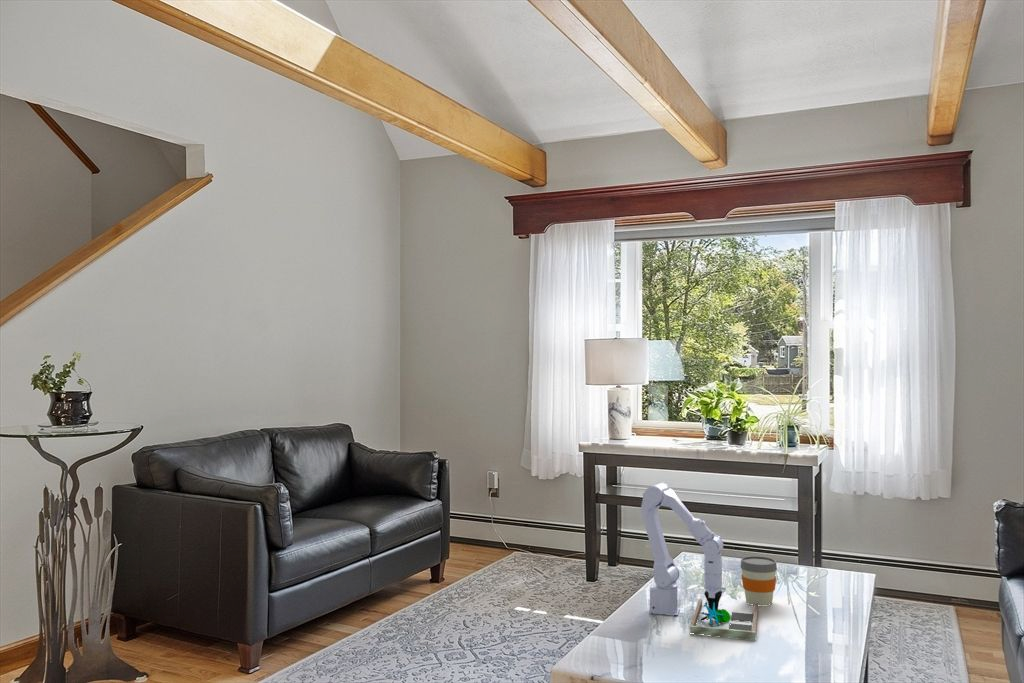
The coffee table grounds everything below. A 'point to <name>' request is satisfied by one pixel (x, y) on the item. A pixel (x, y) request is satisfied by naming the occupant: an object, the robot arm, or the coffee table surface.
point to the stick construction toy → (716, 615)
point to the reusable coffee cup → (758, 579)
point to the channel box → (721, 631)
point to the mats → (741, 618)
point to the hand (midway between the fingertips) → (713, 613)
